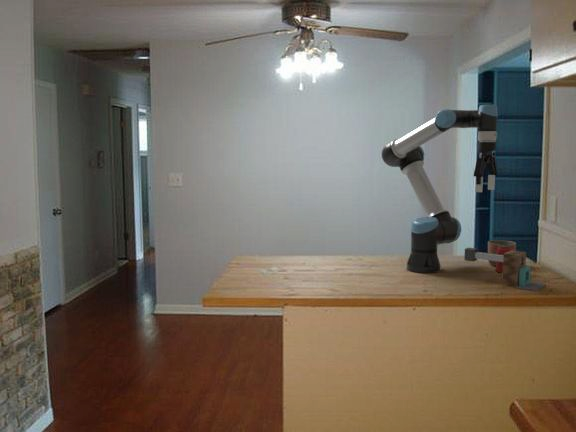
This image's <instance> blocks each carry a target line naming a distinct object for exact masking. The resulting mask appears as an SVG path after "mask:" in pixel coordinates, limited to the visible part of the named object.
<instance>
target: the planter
mask: <svg viewBox="0 0 576 432" xmlns="http://www.w3.org/2000/svg"><path fill="white" fill-rule="evenodd" d="M501 244H504V245H511V248H512V250H513V251H516V250H517V249H516V247H517V243H516V242H515V241H512V240H502V239H500V240H498V239H494V240H488V241H487V253H490V254H497V248H498V245H501ZM487 261H488V263H489V264H490V265H491V266H493V267H496V261H491V260H487Z"/></svg>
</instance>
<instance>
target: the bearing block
mask: <svg viewBox="0 0 576 432" xmlns="http://www.w3.org/2000/svg"><path fill="white" fill-rule="evenodd" d="M521 257H522V263H521ZM526 261H527V252H526V251H521V250H515V251H513V250H511V251H509V252H506V253H504V256H503V273H502V280H501V281H502V283H501V285H502V286H506V287H513V288H517V286H519V271H520V268H522V267H524V266H527V265H526V263H527V262H526Z"/></svg>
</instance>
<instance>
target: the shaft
mask: <svg viewBox="0 0 576 432" xmlns="http://www.w3.org/2000/svg"><path fill="white" fill-rule="evenodd" d="M503 256H504V255H498V254H490V253H488V252H481V251H479V250H478V248H476V247H466V248H465V249H464V258H463V259H464V261H467V262H475V261H478V260H484V261H488V260H491V261H499V262H503ZM521 263H522V257H521Z"/></svg>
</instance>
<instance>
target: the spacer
mask: <svg viewBox="0 0 576 432" xmlns="http://www.w3.org/2000/svg"><path fill="white" fill-rule="evenodd" d="M530 282H531V266H530V265H526V266H524V267H522V268H520V271H519V286H525V285H527V284H529V283H530Z"/></svg>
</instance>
